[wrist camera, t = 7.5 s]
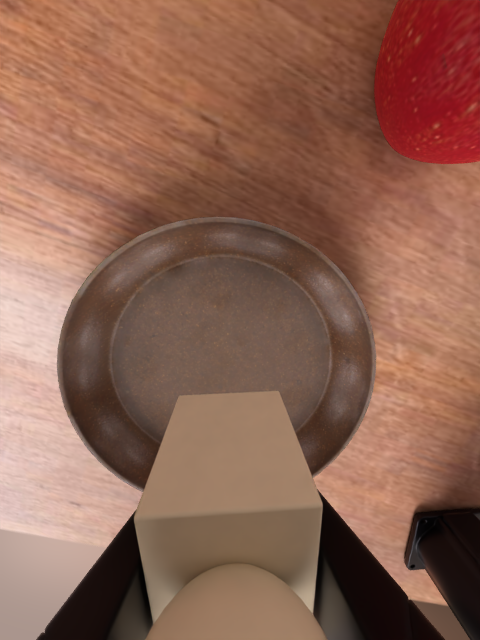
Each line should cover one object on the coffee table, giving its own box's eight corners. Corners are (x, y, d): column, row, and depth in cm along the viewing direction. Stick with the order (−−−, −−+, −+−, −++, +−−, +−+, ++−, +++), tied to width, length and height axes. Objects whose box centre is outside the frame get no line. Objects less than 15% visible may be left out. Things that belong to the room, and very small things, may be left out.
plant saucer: (88, 199, 13) (45, 180, 10) (383, 252, 14) (423, 249, 11) (88, 457, 17) (59, 499, 14) (316, 476, 18) (333, 517, 15)
